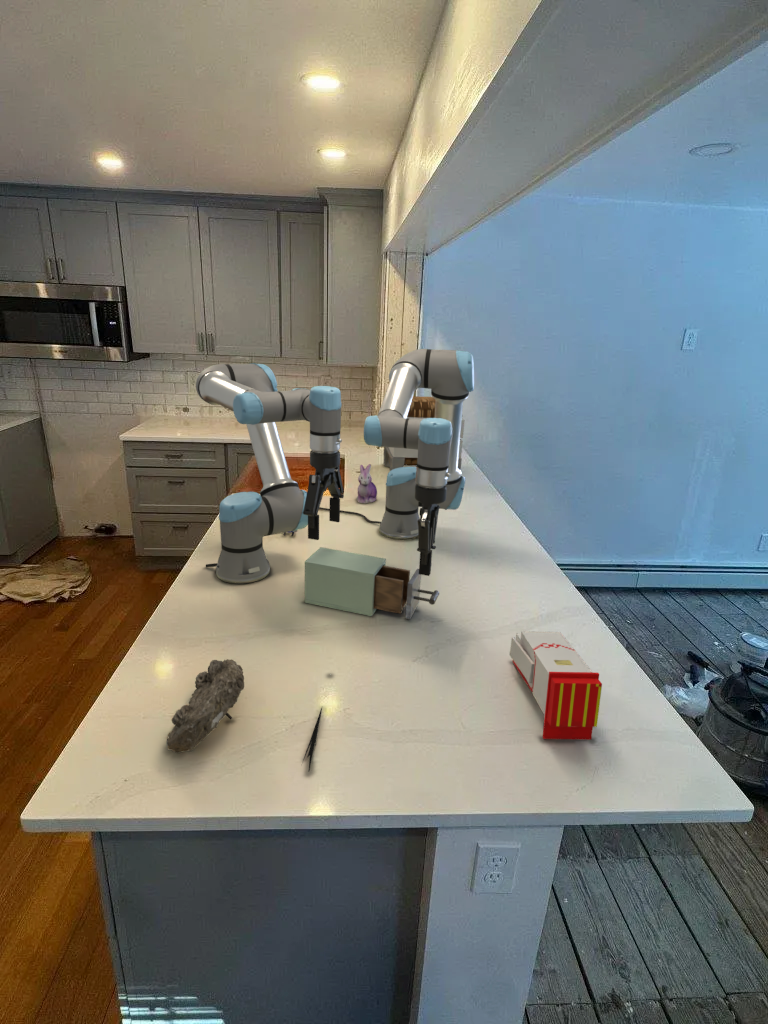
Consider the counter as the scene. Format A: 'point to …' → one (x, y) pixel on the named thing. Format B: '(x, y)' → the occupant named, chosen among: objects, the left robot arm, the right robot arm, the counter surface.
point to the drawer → (399, 591)
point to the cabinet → (342, 580)
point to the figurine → (366, 486)
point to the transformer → (403, 456)
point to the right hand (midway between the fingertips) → (424, 573)
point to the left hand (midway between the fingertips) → (324, 529)
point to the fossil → (206, 705)
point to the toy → (558, 683)
